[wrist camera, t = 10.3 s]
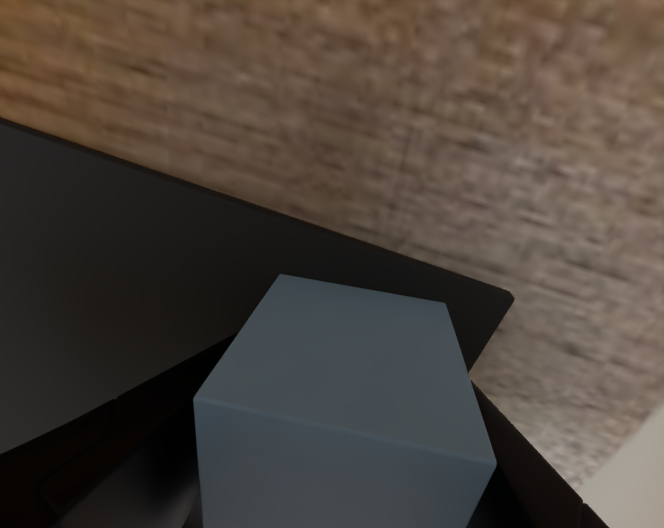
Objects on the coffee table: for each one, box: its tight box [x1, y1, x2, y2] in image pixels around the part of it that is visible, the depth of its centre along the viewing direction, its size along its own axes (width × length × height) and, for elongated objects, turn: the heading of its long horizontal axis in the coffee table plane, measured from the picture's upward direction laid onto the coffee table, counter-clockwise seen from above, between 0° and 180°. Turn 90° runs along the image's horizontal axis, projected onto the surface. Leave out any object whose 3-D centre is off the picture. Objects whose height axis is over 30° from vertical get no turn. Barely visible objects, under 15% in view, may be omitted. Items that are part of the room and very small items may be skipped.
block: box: [193, 274, 497, 528], centre depth 7 cm, size 4×4×4 cm
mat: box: [0, 118, 514, 528], centre depth 13 cm, size 16×24×1 cm, turn 163°
